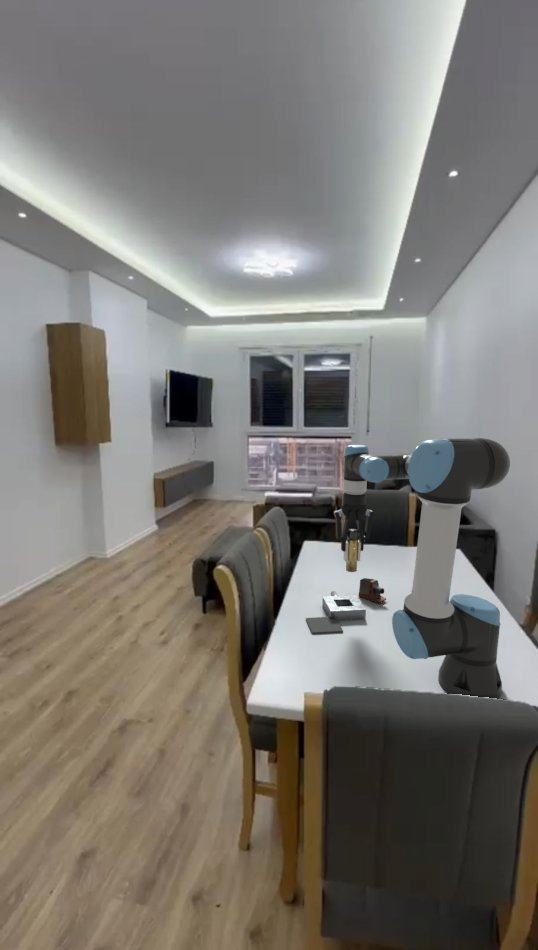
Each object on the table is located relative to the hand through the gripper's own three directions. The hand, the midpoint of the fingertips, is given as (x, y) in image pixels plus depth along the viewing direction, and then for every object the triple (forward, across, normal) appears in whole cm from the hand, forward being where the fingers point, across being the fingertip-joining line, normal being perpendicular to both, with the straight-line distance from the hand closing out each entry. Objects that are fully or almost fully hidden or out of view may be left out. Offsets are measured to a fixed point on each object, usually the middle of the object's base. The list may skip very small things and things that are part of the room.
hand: (351, 559), depth 160 cm
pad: (+19, +11, +8) cm, 24 cm away
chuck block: (+20, +2, -5) cm, 21 cm away
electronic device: (+20, -12, -11) cm, 26 cm away
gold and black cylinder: (+4, 0, 0) cm, 4 cm away
